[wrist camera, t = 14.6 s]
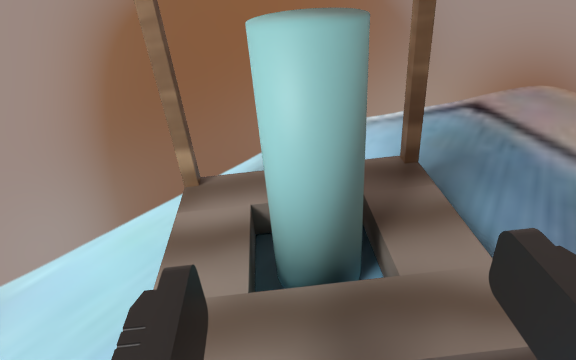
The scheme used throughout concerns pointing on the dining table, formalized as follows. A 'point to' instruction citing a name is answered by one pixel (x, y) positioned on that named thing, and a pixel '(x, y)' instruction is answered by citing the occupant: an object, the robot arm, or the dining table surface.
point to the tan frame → (345, 295)
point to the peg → (313, 137)
